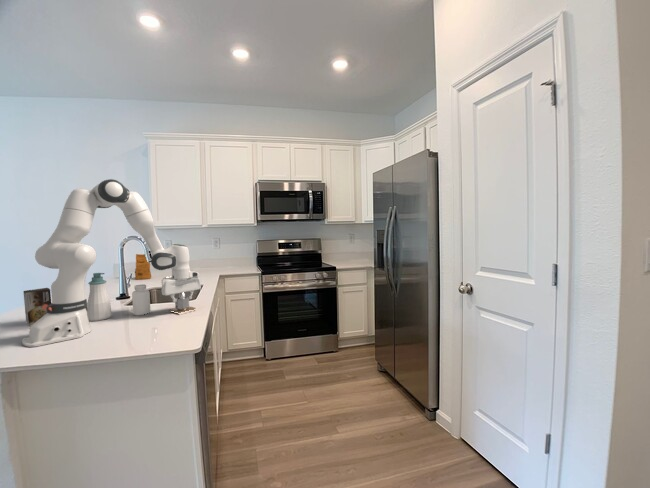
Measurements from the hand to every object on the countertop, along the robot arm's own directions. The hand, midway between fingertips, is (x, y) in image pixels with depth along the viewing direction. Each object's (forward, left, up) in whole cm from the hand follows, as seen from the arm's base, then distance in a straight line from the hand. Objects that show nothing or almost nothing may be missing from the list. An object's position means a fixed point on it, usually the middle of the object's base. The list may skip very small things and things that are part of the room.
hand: (182, 300), depth 169 cm
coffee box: (-49, +42, -6) cm, 65 cm away
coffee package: (+41, +134, -6) cm, 140 cm away
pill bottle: (-14, +15, -6) cm, 21 cm away
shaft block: (0, 0, -6) cm, 6 cm away
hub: (0, 0, -4) cm, 4 cm away
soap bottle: (-30, +24, -6) cm, 39 cm away
